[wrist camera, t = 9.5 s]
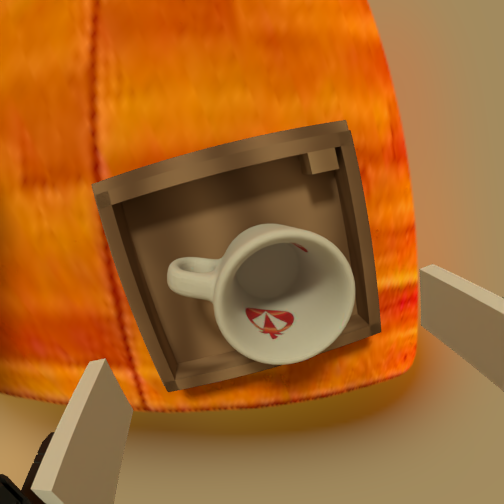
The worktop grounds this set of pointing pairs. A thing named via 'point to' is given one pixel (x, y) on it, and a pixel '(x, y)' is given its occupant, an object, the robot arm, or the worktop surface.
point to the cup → (273, 292)
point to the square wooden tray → (232, 235)
